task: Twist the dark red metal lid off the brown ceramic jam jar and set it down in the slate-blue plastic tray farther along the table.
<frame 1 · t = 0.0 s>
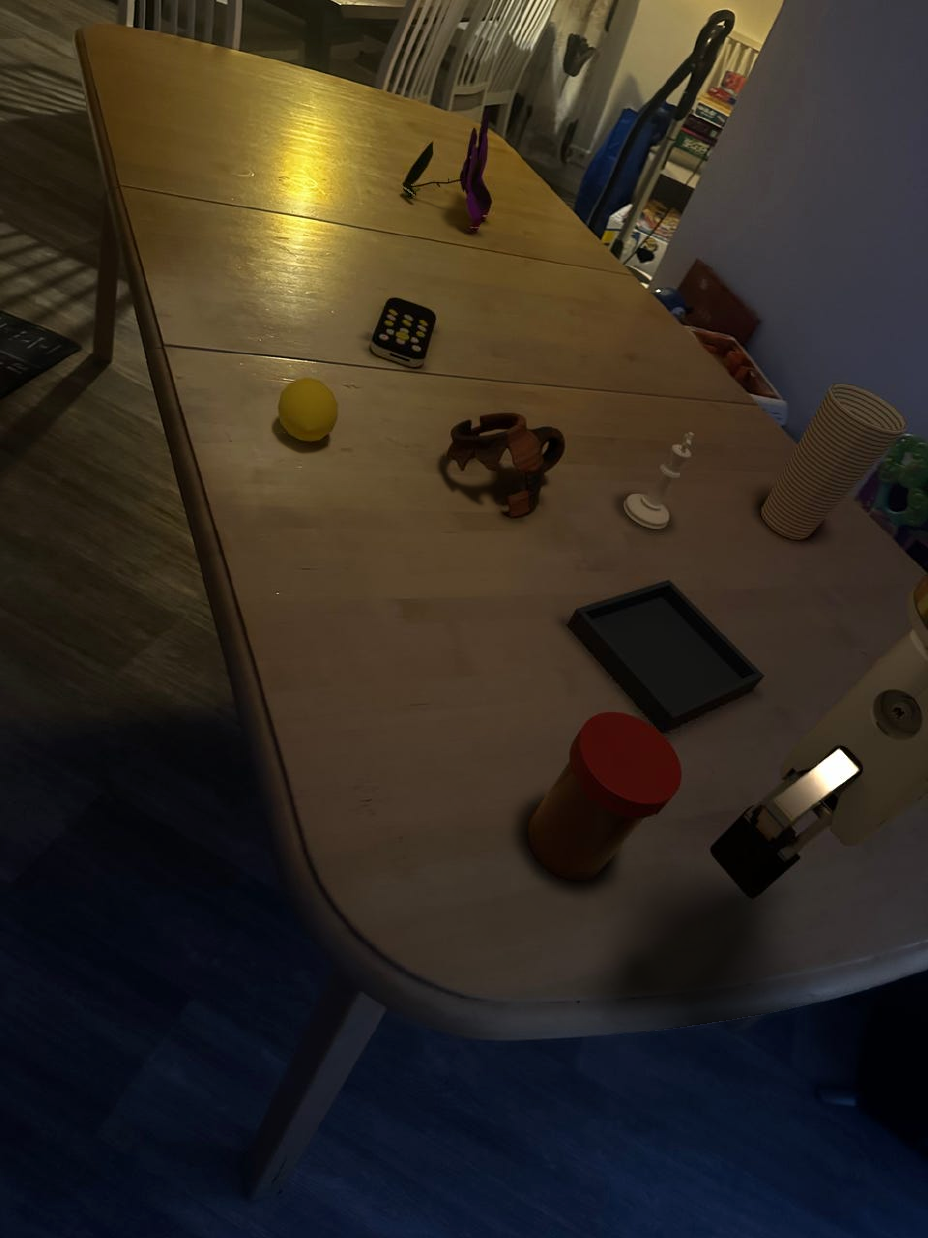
hand: (784, 837, 47), 12 cm above the table, tool pointing down, fingers open, 9 cm apart
tray: (660, 658, 74), on the table
jar lid: (628, 758, 51), point 9 cm above the table, screwed on, not yet turned
lemon: (302, 435, 81), on the table
flower: (440, 212, 133), on the table
cup: (783, 524, 98), on the table
chess piece: (644, 515, 90), on the table
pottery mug: (498, 485, 85), on the table
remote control: (402, 339, 100), on the table
jar: (567, 841, 58), on the table
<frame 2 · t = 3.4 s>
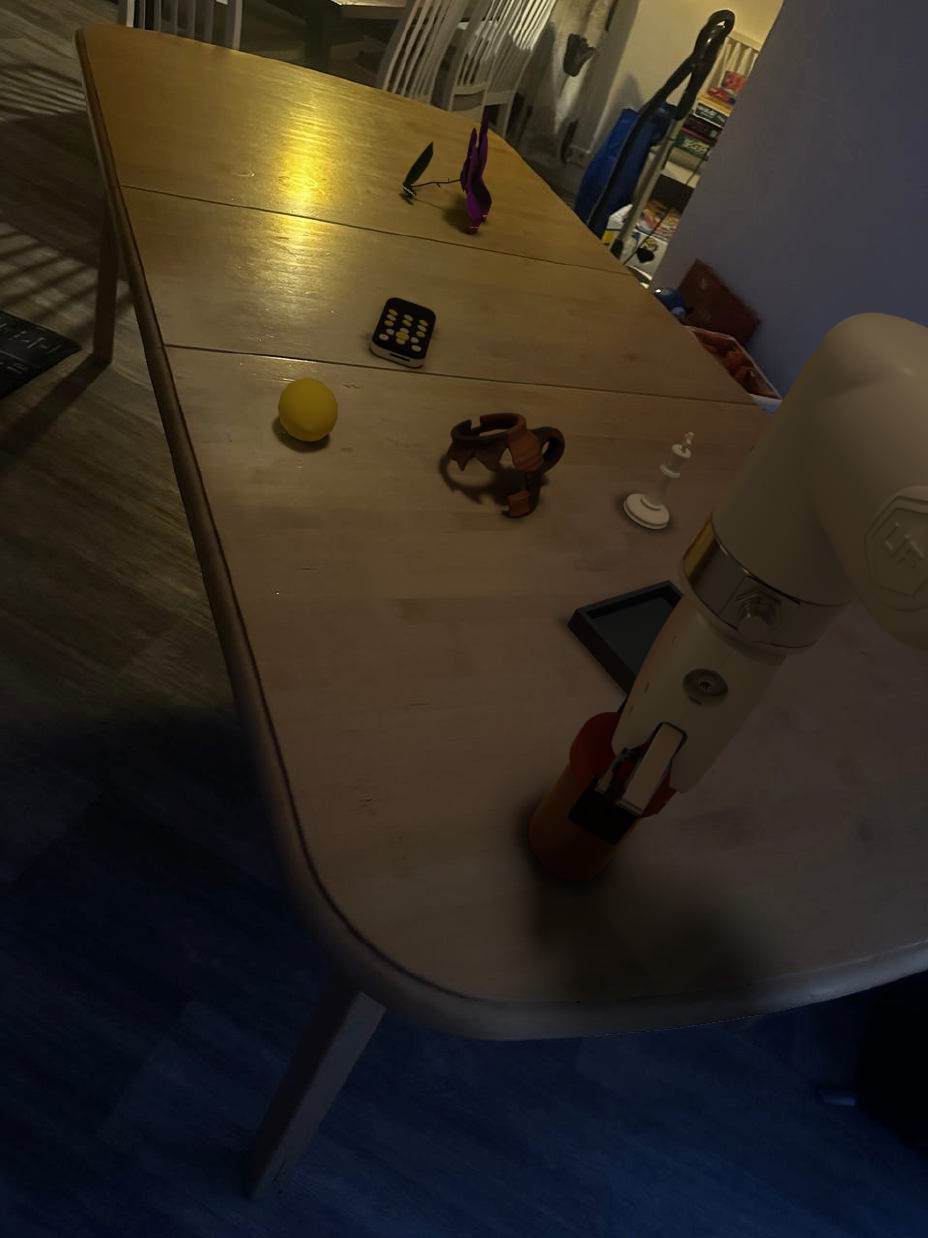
hand: (609, 784, 53), 7 cm above the table, tool pointing down, fingers closed on jar lid, 6 cm apart
jar lid: (628, 758, 51), point 9 cm above the table, screwed on, not yet turned, touching gripper
everything else where it was.
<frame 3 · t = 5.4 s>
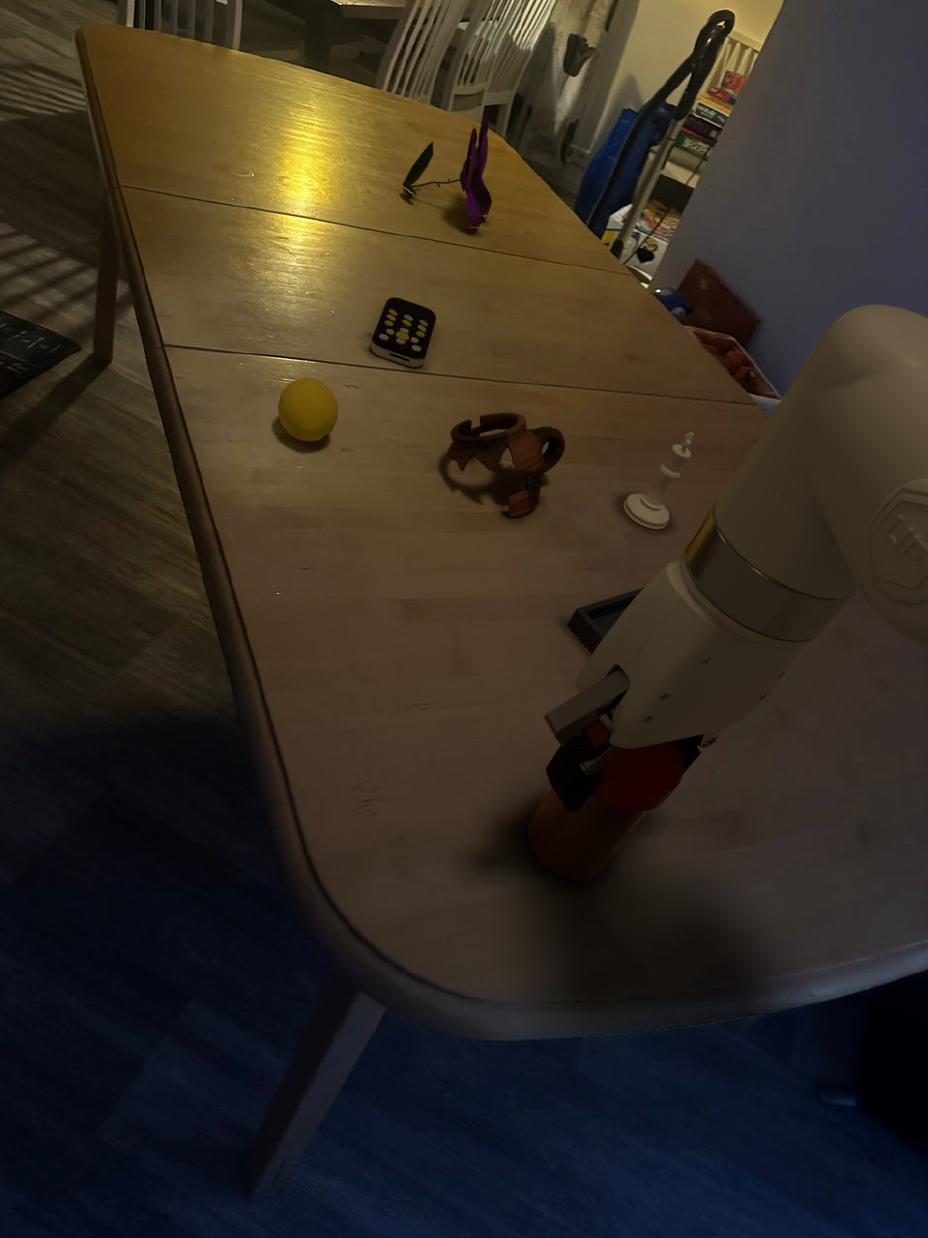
hand: (609, 778, 53), 7 cm above the table, tool pointing down, fingers closed on jar lid, 6 cm apart
jar lid: (630, 752, 51), point 10 cm above the table, turned 139° so far, risen 0.4 cm, still on its thread, touching gripper
everything else where it was.
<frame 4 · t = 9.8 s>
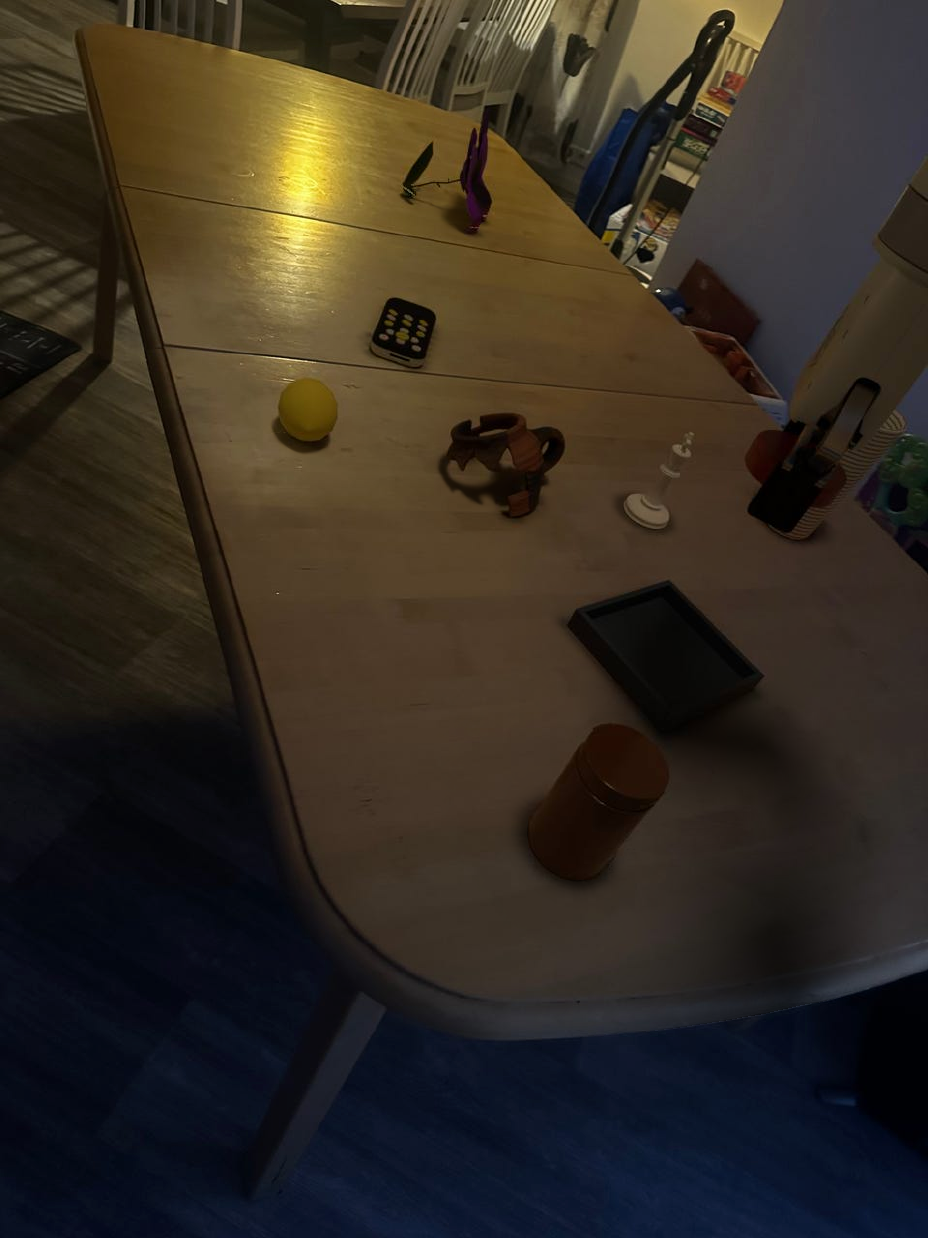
hand: (775, 495, 60), 19 cm above the table, tool pointing down, fingers closed on jar lid, 6 cm apart
jar lid: (799, 461, 58), point 22 cm above the table, off its thread, touching gripper
everything else where it was.
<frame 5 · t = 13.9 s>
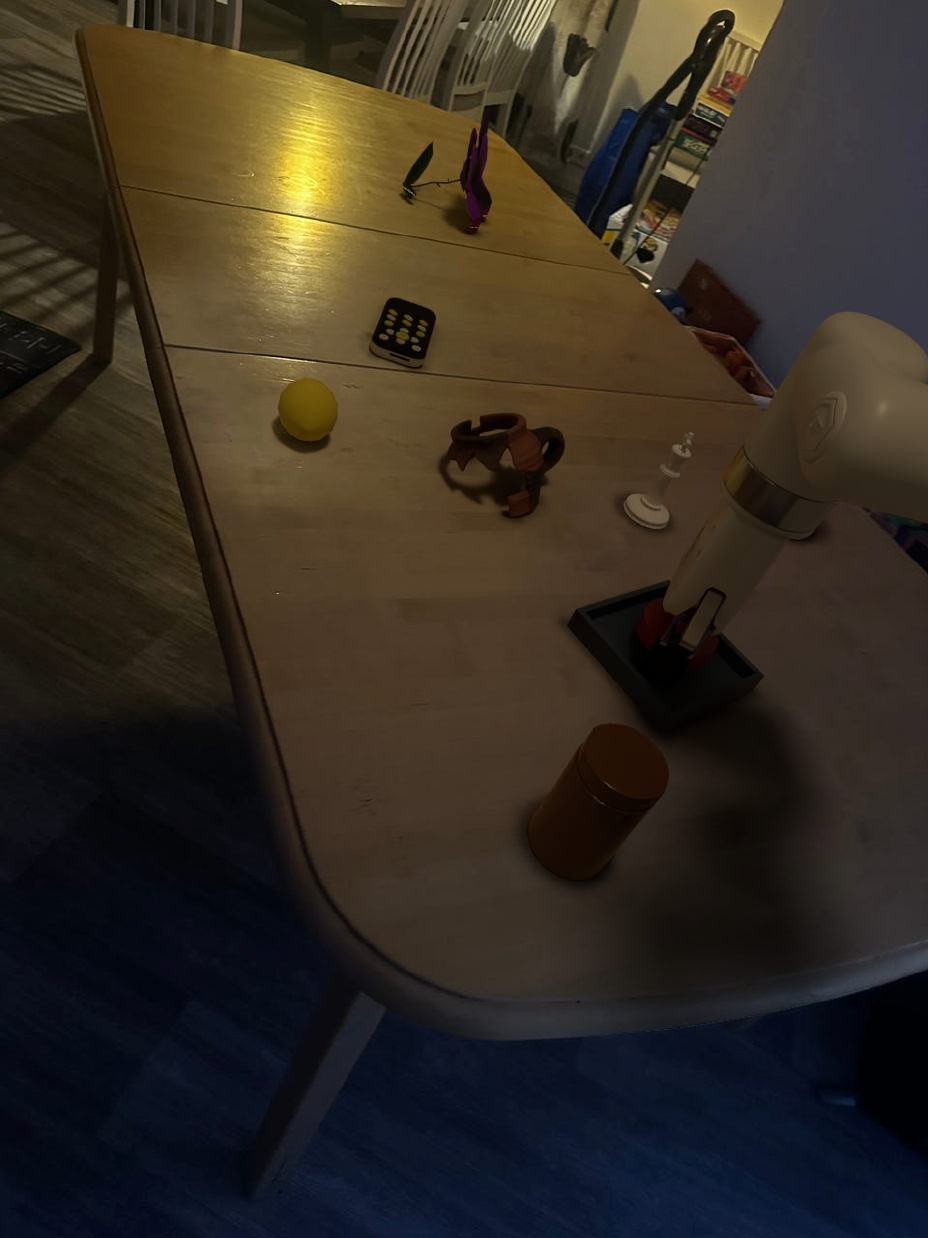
hand: (664, 652, 74), 1 cm above the table, tool pointing down, fingers closed on jar lid, 6 cm apart
jar lid: (680, 629, 72), point 4 cm above the table, off its thread, touching gripper
everything else where it was.
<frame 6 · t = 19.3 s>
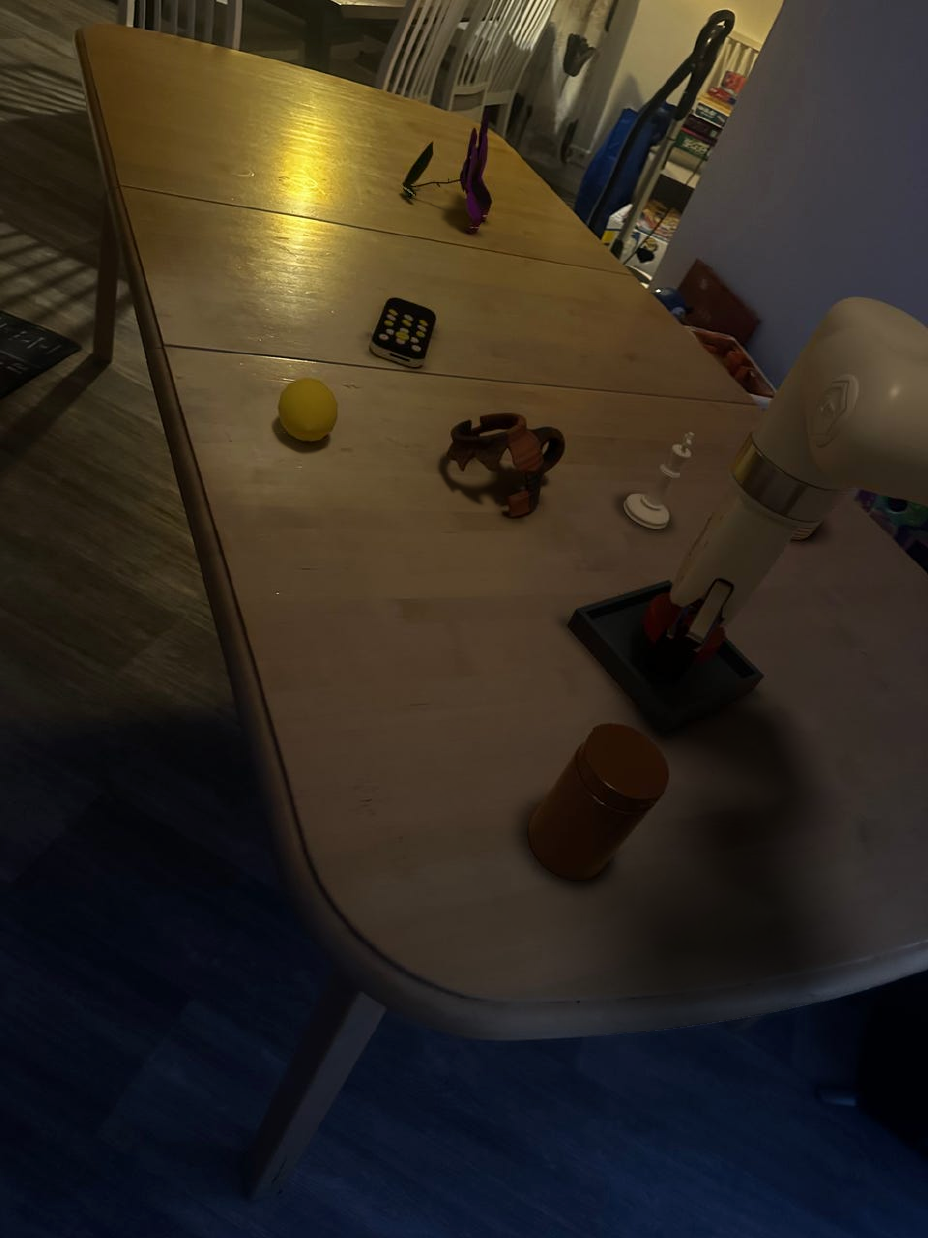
hand: (670, 646, 73), 2 cm above the table, tool pointing down, fingers closed on jar lid, 6 cm apart
jar lid: (686, 622, 71), point 5 cm above the table, off its thread, touching gripper
everything else where it was.
when the fingers open (2 cm above the table, at t = 24.1 s): jar lid drops 3 cm, resting on tray.
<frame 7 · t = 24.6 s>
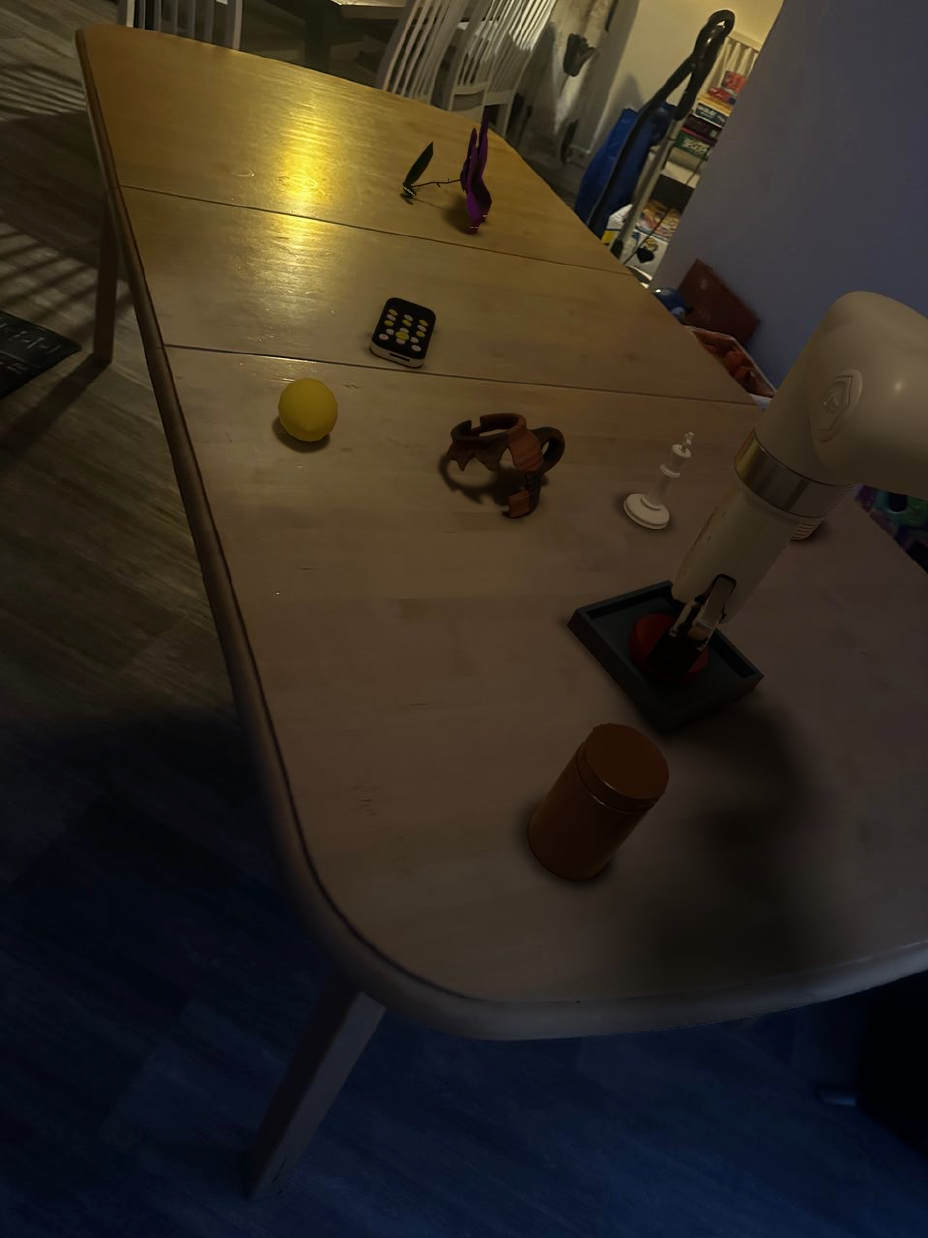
hand: (675, 636, 72), 3 cm above the table, tool pointing down, fingers open, 9 cm apart
jar lid: (670, 644, 73), point 2 cm above the table, off its thread, touching tray
everything else where it was.
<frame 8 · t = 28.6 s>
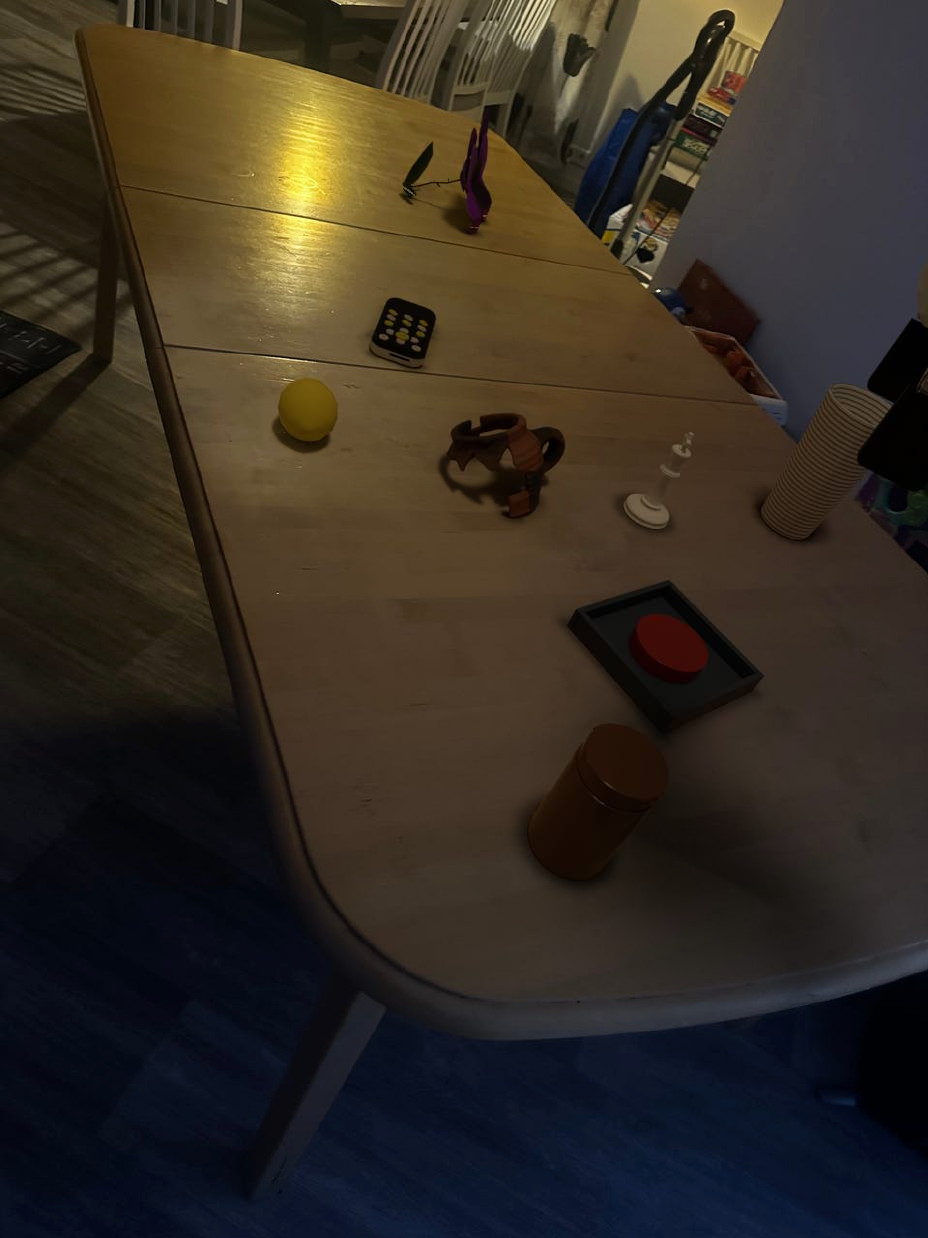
hand: (888, 434, 43), 30 cm above the table, tool pointing down, fingers open, 9 cm apart
nothing on the table moved.
at the end: jar lid inside the target area on the tray (0.0 cm from its centre), point 1.8 cm above the tray's base; jar lid point 1.8 cm above the table; the gripper is holding nothing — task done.
